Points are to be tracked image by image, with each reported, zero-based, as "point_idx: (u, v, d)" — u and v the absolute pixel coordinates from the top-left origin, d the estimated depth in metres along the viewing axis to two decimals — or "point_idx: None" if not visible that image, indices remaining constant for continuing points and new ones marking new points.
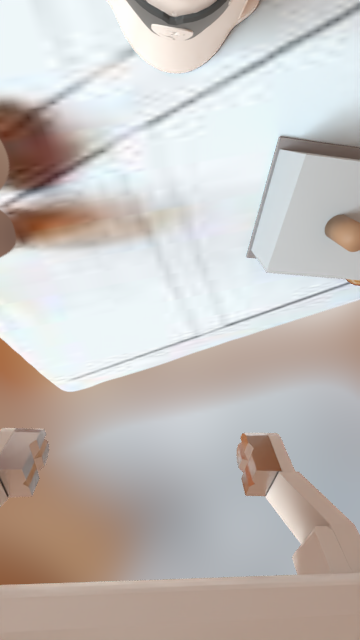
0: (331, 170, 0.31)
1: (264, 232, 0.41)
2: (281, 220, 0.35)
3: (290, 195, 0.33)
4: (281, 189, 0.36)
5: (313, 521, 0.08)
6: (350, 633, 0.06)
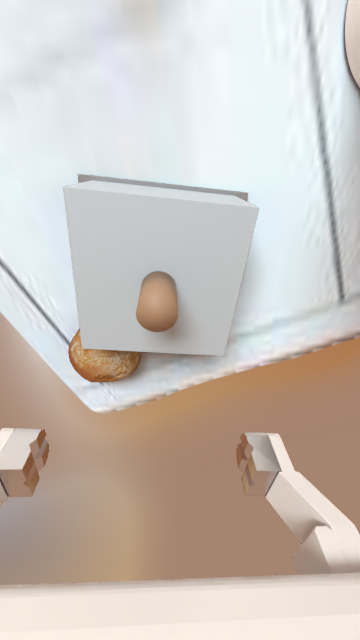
0: (234, 253, 0.23)
1: (130, 187, 0.24)
2: (163, 196, 0.21)
3: (202, 201, 0.21)
4: (200, 196, 0.24)
5: (313, 521, 0.08)
6: (350, 633, 0.06)
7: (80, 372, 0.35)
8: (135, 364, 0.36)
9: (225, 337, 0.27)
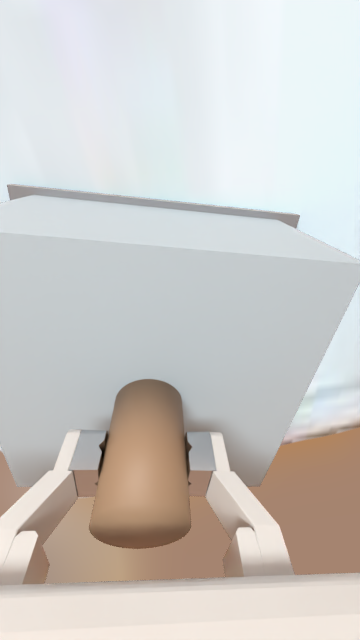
0: (299, 347, 0.11)
1: (94, 211, 0.13)
2: (155, 240, 0.09)
3: (243, 249, 0.09)
4: (228, 230, 0.12)
5: (241, 522, 0.08)
6: (350, 633, 0.06)
7: None
8: None
9: (265, 465, 0.16)
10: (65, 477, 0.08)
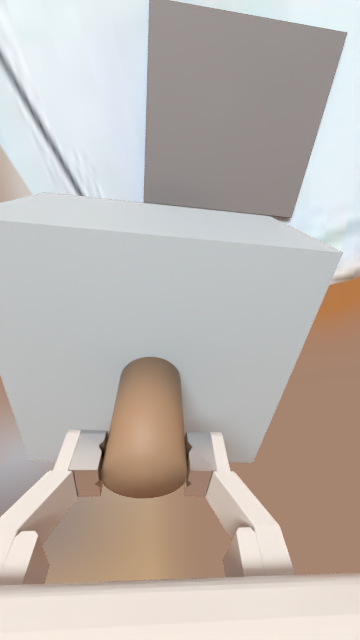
0: (285, 328, 0.13)
1: (101, 207, 0.14)
2: (157, 230, 0.11)
3: (233, 239, 0.11)
4: (222, 223, 0.14)
5: (241, 522, 0.08)
6: (350, 633, 0.06)
7: None
8: None
9: (257, 441, 0.17)
10: (65, 477, 0.08)
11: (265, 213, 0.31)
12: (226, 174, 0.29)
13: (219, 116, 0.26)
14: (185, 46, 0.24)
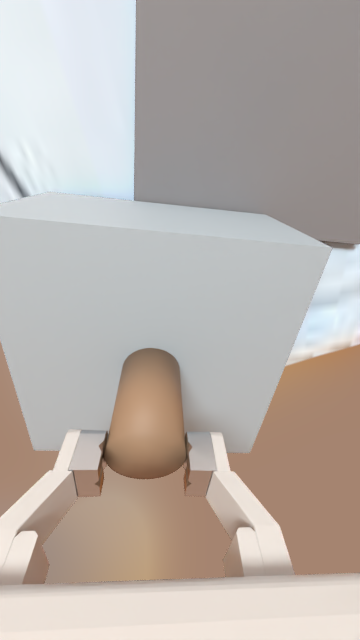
0: (279, 320, 0.13)
1: (104, 205, 0.15)
2: (157, 227, 0.11)
3: (229, 235, 0.11)
4: (219, 221, 0.14)
5: (241, 521, 0.08)
6: (350, 633, 0.06)
7: None
8: None
9: (254, 431, 0.18)
10: (65, 477, 0.08)
11: (320, 238, 0.20)
12: (265, 178, 0.18)
13: (260, 81, 0.15)
14: None
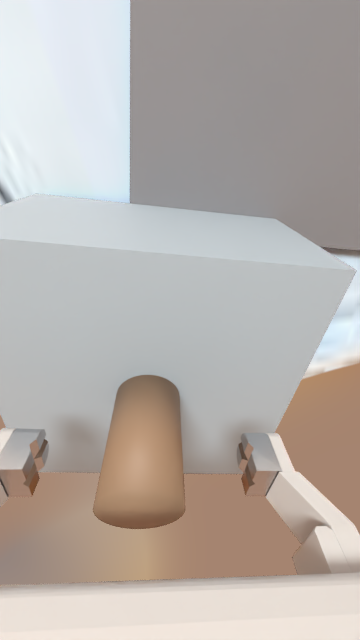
0: (291, 346, 0.12)
1: (96, 212, 0.13)
2: (154, 246, 0.10)
3: (237, 255, 0.10)
4: (225, 232, 0.13)
5: (313, 521, 0.08)
6: (350, 633, 0.06)
7: None
8: None
9: None
10: None
11: (338, 246, 0.18)
12: (278, 179, 0.16)
13: (275, 67, 0.13)
14: None
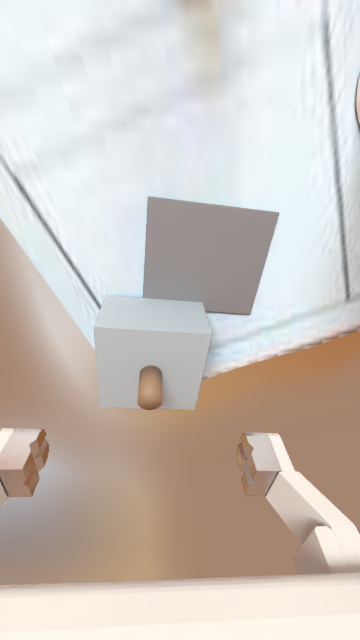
0: (198, 356, 0.36)
1: (132, 308, 0.37)
2: (153, 327, 0.34)
3: (178, 329, 0.34)
4: (177, 316, 0.37)
5: (313, 521, 0.08)
6: (350, 633, 0.06)
7: None
8: None
9: (195, 399, 0.41)
10: None
11: (231, 312, 0.43)
12: (202, 289, 0.41)
13: (195, 257, 0.38)
14: (171, 220, 0.35)
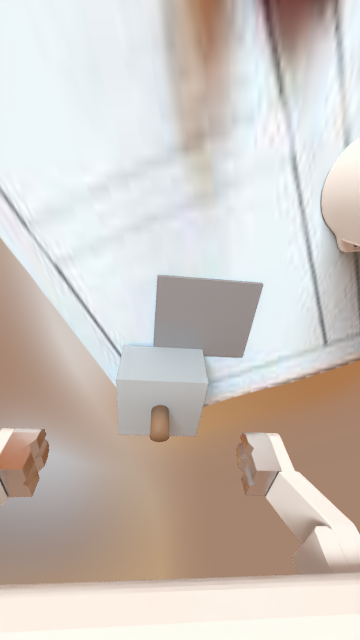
0: (197, 398, 0.45)
1: (145, 358, 0.47)
2: (162, 378, 0.43)
3: (181, 379, 0.43)
4: (181, 365, 0.46)
5: (313, 521, 0.08)
6: (350, 633, 0.06)
7: None
8: None
9: (196, 429, 0.50)
10: None
11: (226, 355, 0.52)
12: (201, 339, 0.50)
13: (196, 317, 0.47)
14: (176, 292, 0.44)
